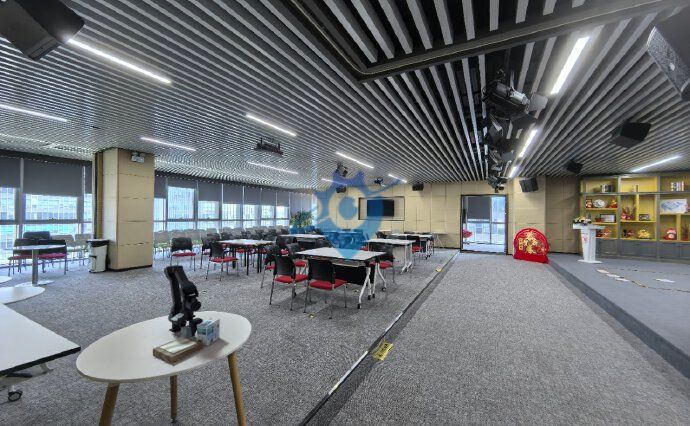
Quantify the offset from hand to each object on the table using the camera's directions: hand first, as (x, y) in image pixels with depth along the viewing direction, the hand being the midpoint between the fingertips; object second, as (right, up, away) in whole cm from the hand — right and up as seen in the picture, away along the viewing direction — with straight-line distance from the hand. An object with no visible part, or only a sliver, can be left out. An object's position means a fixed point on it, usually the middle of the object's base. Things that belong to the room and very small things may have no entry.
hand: (187, 334), depth 157 cm
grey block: (0, -2, 0) cm, 2 cm away
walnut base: (+4, -2, -16) cm, 16 cm away
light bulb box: (+14, -2, -4) cm, 14 cm away
